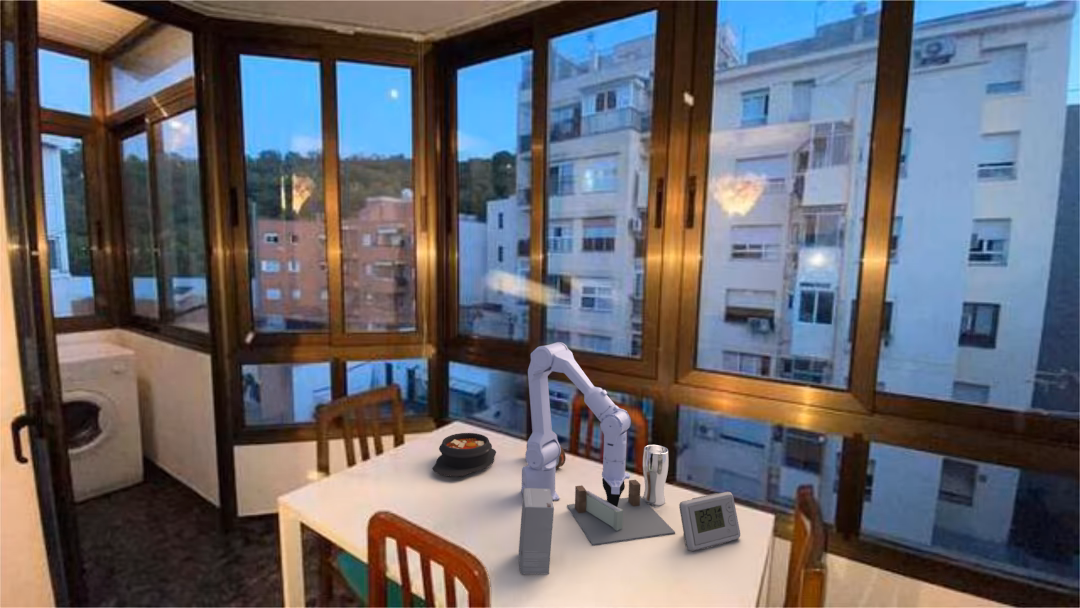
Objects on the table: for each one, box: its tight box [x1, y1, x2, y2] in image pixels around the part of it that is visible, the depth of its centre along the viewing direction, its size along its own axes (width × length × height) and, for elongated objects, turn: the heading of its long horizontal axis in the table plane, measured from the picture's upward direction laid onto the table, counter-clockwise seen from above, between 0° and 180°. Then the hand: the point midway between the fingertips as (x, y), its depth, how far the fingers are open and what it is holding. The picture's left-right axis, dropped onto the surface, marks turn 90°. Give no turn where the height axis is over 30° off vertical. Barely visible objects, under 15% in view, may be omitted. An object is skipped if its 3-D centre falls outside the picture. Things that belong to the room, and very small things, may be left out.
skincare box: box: [518, 488, 555, 575], centre depth 108 cm, size 8×7×16 cm
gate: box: [586, 490, 623, 531], centre depth 127 cm, size 12×2×5 cm, turn 37°
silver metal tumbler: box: [642, 444, 669, 507], centre depth 138 cm, size 7×7×15 cm
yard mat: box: [566, 495, 676, 547], centre depth 128 cm, size 22×19×1 cm
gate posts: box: [574, 479, 642, 513], centre depth 134 cm, size 18×3×6 cm, turn 105°
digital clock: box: [678, 491, 741, 552], centre depth 119 cm, size 16×9×11 cm, turn 101°
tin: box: [556, 445, 567, 470], centre depth 161 cm, size 15×3×8 cm, turn 49°
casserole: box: [432, 432, 497, 478], centre depth 159 cm, size 25×19×8 cm
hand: (612, 507), depth 128 cm, fingers closed
